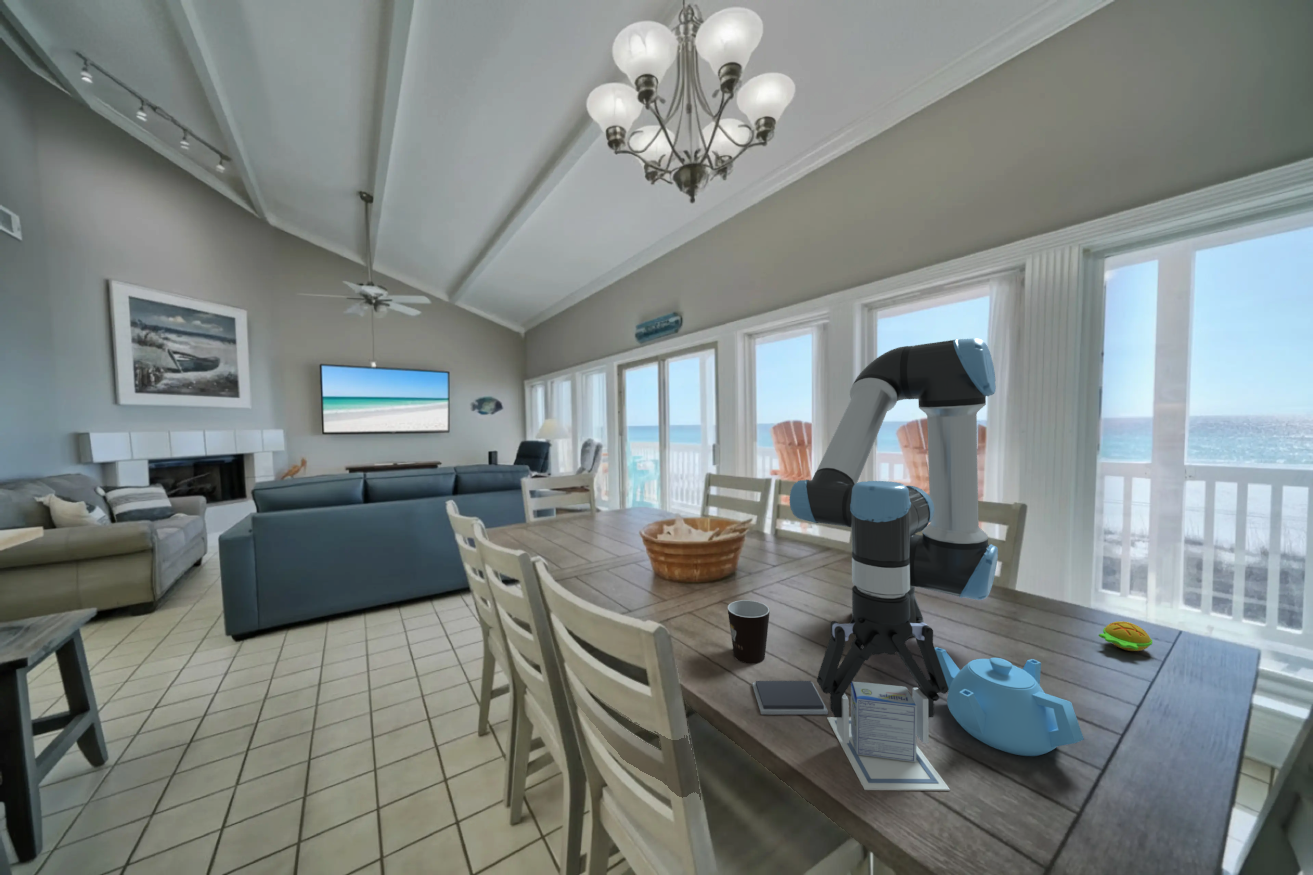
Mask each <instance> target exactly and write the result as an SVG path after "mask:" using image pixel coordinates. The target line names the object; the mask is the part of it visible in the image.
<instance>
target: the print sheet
mask: <svg viewBox="0 0 1313 875" xmlns="http://www.w3.org/2000/svg"><path fill="white" fill-rule="evenodd" d="M826 718H827V721H828V724H829V725H830V727H831V729H832V730H833V732H834V735H835V736H836V738H837V740H838V742H839V744H840V746H841V748H842V750H843V752H844V754H845V755H846V757H847V759H848V761H849V763H850V765H851V767H852V769H853V771H854V772H855V774H856V776H857V778H858V780H859V783H860V784H861V786H862V788H863V789H864V791H939V792H940V791H942V792H943V791H946V792H947V791H949V792H950V791H951V789H950V787H949V786H948V785H947V783H946V782H945V781H944V779H943V778H942V776H941V775H940V773H938V771H937V770H936V769H935V767H934V766H933V765H932V763H931V762H930V761H929V759H928V758H927V757H926V755H924V753H923V751H922V750H921V749H920V748H919V747H918V745H917V744H916V762H910V761H903V760H895V759H888V758H880V757H873V756H865V755H857V753H856V749H855V745H854V741H853V738H852V734H851V716H849V743H843V741H842V739H841V737H840V735H839V733H838V731H837V717H835V716H832V717H831V716H828V717H826Z"/></svg>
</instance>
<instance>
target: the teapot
mask: <svg viewBox="0 0 1313 875" xmlns="http://www.w3.org/2000/svg"><path fill="white" fill-rule="evenodd" d="M934 648H935V651H936V654H937V657H938V659H939V662H940V665H941V668H942V671H943V674H944V677H945V680H946V683H947V685H948V689H949V690H948V692H947V696H946V697H947V700H946V704H947V708H948V709H949V712H950V714H951V715H952V716H953V718H954V720H955V721H956V722H957V723H958V724H959V725H960V726H961V728H962V729H963V730H965V732H967V733H968V734H969V735H971V736H972V737H973V738H975V739H977V740H978V741H980V742H981V743H983V744H985V745H987V746H989V747H991V748H994V749H996V750H998V751H1002V752H1005V753H1007V754H1012V755H1016V756H1017V755H1018V756H1022V757H1023V756H1024V757H1038V756H1042V755H1044V754H1047V753H1049V752H1051V751H1053V750H1055V749H1056V748H1057V747H1062V746H1067V745H1073V744H1074V745H1075V744H1077V743H1079V742H1081V741H1084V740H1085V738H1084V736H1083V732H1082V730H1081V726H1080V723H1079V721H1078V717H1077V715H1076V713H1075V709H1074V706H1073V704H1072V701H1069V700H1066V699H1063V698H1060V697H1057V696H1055V695H1052V694H1048V693H1045V690H1043V688H1042V687H1041V685H1040V683H1041V669H1042V662H1040V661H1038V660H1037V659H1034V658H1030V659H1028V660H1026V662H1025V664H1024V665H1023V668H1021V667H1018V666H1016V665H1013V663H1011V662H1010V661H1009V660H1007V659H1004V658H1000V657H991V658H977V659H973V660H970V661H969V662H968V663H966V664H965V665H964V666H963V667H962V669H960V668H959V667H958V665H957V664H956V663H955V662H954V660H953V659H952V657H951V656H950V655H949V653H947V650H946V649H944V648H940V647H939V646H938V647H937V646H936V647H934Z"/></svg>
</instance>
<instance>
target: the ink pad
mask: <svg viewBox="0 0 1313 875" xmlns="http://www.w3.org/2000/svg"><path fill="white" fill-rule="evenodd" d="M752 688H753V692H754V696H755V698H756V701H757V706H758V708H759V711H760V715H828V714H829V711H828V708H827V706H826V705H825V703H824V701H823V699H822V696H820V694H819V691H818V690H817V688H816V686H815V684H814V682H812V681H811V680H755V682H752Z"/></svg>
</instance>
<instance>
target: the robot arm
mask: <svg viewBox="0 0 1313 875" xmlns="http://www.w3.org/2000/svg"><path fill="white" fill-rule="evenodd" d="M995 392H996V373H995V367H994V363H993V359H992V355H991V352H990V349H989V347H988V344H987V343H986V342H985V341H984V340H983V339H980V338H974V337H973V338H960V339H959V338H956V339H952V340H951V339H950V340H944V341H937V342H930V343H922V344H915V345H906V346H900V347H895V348H893V349H890V350H888V351H887V352H884V353H883V354H881V355H879V356H878V357H876V358H875V359H874V360H872V361H871V362H870V363H868V365H867V366H866V367H865V368H864V369H863V370H861V371H860V373H859V374H858V375H857V377H856V378H855V380H854V382H853V384H852V386H851V388H850V390H849V396H850V397H849V398H850V400H849V402H848V405H847V407H846V409H845V412H844V413H843V416H842V417H841V419H840V421H839V424H838V425H837V427H836V430H835V432H834V434H833V436H832V438H831V440H830V442H829V444H828V446H827V448H826V450H825V452H824V455H823V456H822V458H821V460H820V463H819V465H818V467H817V469H816V470H815V473H814V475H813V477H812V479H804V480H803V479H801V480H798V481H797V482H795V483H794V484H793V485H792V487H791V489H790V492H789V499H788V500H789V507H790V510H791V512H792V514H793V515H794V517H795V518H797V519H799V520H802V521H806V522H811V523H814V524H823V525H824V524H825V525H832V526H838V527H839V526H840V527H846V528H851V577H852V578H851V581H852V584H853V585H854V586H852V588H851V594H852V595H851V596H852V598H851V600H852V601H851V602H852V603H851V604H852V606H851V609H852V610H851V612H852V613H851V614H852V615H851V620H850V621H849V623H839V622H838V621H836V620H832V621H831V622H830V624H829V625H830V628H829V629H830V637H829V641H828V644H827V647H826V650H825V653H824V656H823V659H822V661H821V665H820V668H819V671H818V674H817V678H816V682H817V684H818V686H819V687H820V689H821V691H822V693H823V694H826V695H827V694H829V700H830V702H829V706H830V707H829V708H830V711H831V712H832V715H833V717H837V731H838V733H839V735H840V737H841V739H842V741H843V743H849V717H850V715H849V714H850V710H849V709H850V707H849V704H850V703H849V701H850V700H849V697H848V695H847V694H846V692H847V690H848V688H849V687H850V686H851V682H853V681H854V679H855V678H856V676H857V674H858V672H859V671H860V669H861V668H862V666H863V665H864V663H865V661H869V659H870V658H871V656H872V655H873V656H875V655H876V656H879V655H883V654H884V655H885V654H886V655H890V656H891V655H892V656H893V655H894V656H895V655H896V654H897V655H898V657H899V658H900V660H901V661H902V663H903V665H905V667H906V669H907V670H908V672H909V674H910V675H911V677H912V678H913V680H914V681H915V683H916V685H918V687H912V699H913V700H914V702H915V704H916V706H917V732H916V737H918V738H919V740H920V741H921V743H922V744H929V718H933V717H934V715H935V703H934V702H937V701H938V700H939V699H940V696H939V695H940V694H938V693H942V694H948V690H949V689H948V685H947V683H946V680H945V677H944V674H943V671H942V668H941V665H940V662H939V659H938V657H937V654H936V651H935V648H936V647H935V645H934V630H933V628H932V627H930V625H928V624H927V623H926V622H924V616H923V614H922V612H921V611H922V610H921V608H920V606H919V603H918V600H917V598H916V594H915V593H916V592H915V591H916V590H915V587H916V588H919V589H924V590H930V591H932V592H938V593H942V594H945V595H946V594H947V595H950V596H954V597H955V596H956V597H959V599H962V598H966V599H970V600H975V601H982V600H985V599H987V598H988V597H989V595H990V593H991V591H992V587H993V584H994V579H995V576H996V572H997V565H998V559H999V548H998V547H997V546H996V545H993V544H989V536H988V534H987V533H986V532H985V531H984V530H982V529H981V527H980V525H979V523H980V522H979V521H980V520H979V478H978V477H979V473H978V427H977V426H978V425H977V424H978V421H977V420H978V419H977V418H978V416H977V415H978V412H980V410H982V409H983V408H984V407H985V406H986V405H987V399H986V398H987V397H990V396H993V395H994V394H995ZM902 400H918V409H919V410H921V411H922V412H923V413H924V414H926V418H927V419H926V420H927V421H926V422H927V423H926V424H927V451H928V452H927V453H928V454H927V455H928V481H929V482H928V484H929V485H928V488H929V489H928V490H929V491H928V493H927V492H926V491H925V490H923V489H922V488H920V487H918V486H915V485H905V484H904V483H900V482H897V481H889V480H888V481H887V480H868V481H859V480H860V477H861V475H862V473H863V470H864V467H865V466H866V463H867V460H868V458H869V455H870V453H871V451H872V448H873V446H874V444H875V442H876V439H877V436H878V435H879V431H880V429H881V427H882V424H883V422H884V420H885V417H886V415H887V413H888V412H889V411H891V410H892V409H893V408H894V407H895V406H896V404H897V402H898V401H902ZM920 532H922V534H918V533H920ZM851 634H853V635H854V636H855V637H854V638H853V640H852V641H851V644H850V649H849V650H848V651H847V653H846V655H845V656H844V658H843V660H842V656H843V654H844V651H845V647H846V642H847V641H849V637H850V635H851ZM911 637H914V638H915V640H916V643H917V646H918V649H919V652H920V654H921V658H922V660H923V664H924V666H925V670H926V672H927V676H928V678H929V679H928V678H927V676H926V675H925V674H924V672H923V671H922V669H921V668H920V666H919V665H918V663H917V661H916V660H915V659H914V657H913V654H912V653H911V651H910V650H909V649H908V647H907V645H906V644H905V643H906V642H907V641H908V640H909V638H911ZM841 660H842V661H841Z"/></svg>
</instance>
